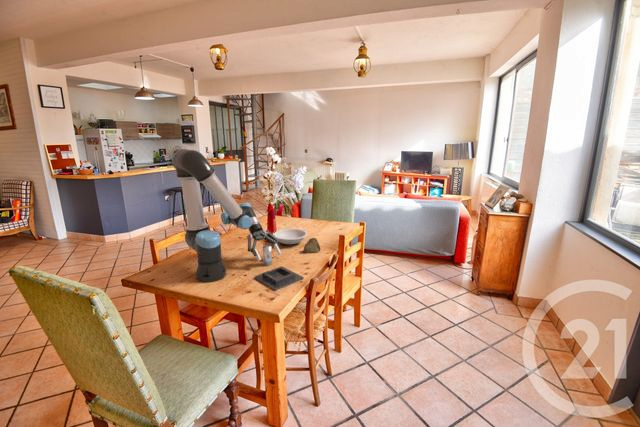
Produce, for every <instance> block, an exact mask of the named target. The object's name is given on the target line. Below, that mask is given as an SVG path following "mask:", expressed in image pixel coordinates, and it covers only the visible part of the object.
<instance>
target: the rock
mask: <svg viewBox="0 0 640 427" xmlns="http://www.w3.org/2000/svg"><path fill="white" fill-rule="evenodd" d="M302 250H303V252H304V253H319V251H320V250H321V246H320V243H319V242H318V240H317V238H316V237H311V238H309V239H308V240H307V242H306V243H305V245H304V247H303V249H302ZM320 252H321V251H320Z"/></svg>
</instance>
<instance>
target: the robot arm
mask: <svg viewBox="0 0 640 427" xmlns="http://www.w3.org/2000/svg"><path fill="white" fill-rule="evenodd" d="M171 163H172V166H173V168H174V169H175V174H176V177H177V178H178V179H179V180H180V184H181V190H182V196H183V201H184V207H185V213H186V214H185V215H186V220H187V225H186V226H185V234H184V240H185V243H186V245H187V246H188V247H189V248H191V249H192V250H194V251H195V252H196V253H197V266H196V270H195V279H196V280H197V281H198V282H202V283H212V282H216V281H219V280H222V279H223V278H225V277H226V276H227V268H226V266H225V264H224V262H223V258H222V257H223V256H222V246H221V245H222V244H221V242H222V240H221V235H220V233H219V232H217V231H215V230H211V229H210V226H209V223H207V222H206V219H205V218H206V217H205V214H204V212H205V211H204V204H203V199H202V193H201V192H202V190H201V186H200V183H202V185H203V186H204V188H206V190H207V191H208V193H210V195H211V196H212V197H213V198H214V200H215V201H216V202H217V203H218V204H219V206H220V208H222V209H223V210H224V211H222V212H221V213H220V219H221V222H222V223H223V225H226V226H227V225H233V226H236V227H238V228H240V229H241V230H248V231H249V233H250V234H249V233H248V235H247V236H246V237H247V252H250V253H252V255H253V257H255V258H256V261H257V263H259V262H260V261H261V260H262V258H261V256H260V254H259V252H258V250H257V249H256V246H257V242H259V241H262V240H263V241H267V242H268V243H270V244H272V245H273V248H274V250H275V252H276V254H277V256H280V255H281V254H282V252H281V249H280V246H279V244H278V243H280V242H279V240H278V239H277V238H276V237H275V236H273V235H272V234H273V233H272V232H270V231H269V229H266V230H265V231H264V228H263V227H262V224H261V222H260V221H259V219H258V217H257V215H256V213H255V211H254V208H253V206H252V205H251V204H250V203H249V202H242V203H240V204H238V203H237V201H236V200H235V199H234V198H233V195H232V194H231V193H230V192H229V191H228V190H227V188H226V187H225V185H224V184H223V183H222V181H221V180H220V179H219V177H218V176H217V175H216V170H215V169H214V167H213V166H212V165H211V163H210V162H209V160H208V159H207V158H206V156H204V155H203V154H202V152H200V151H198V150H194V149H186V148H184V149H179V150H177V151H175V152H174V153H173V155H172V159H171ZM252 238H253V243H252Z"/></svg>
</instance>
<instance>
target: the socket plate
mask: <svg viewBox="0 0 640 427" xmlns="http://www.w3.org/2000/svg"><path fill="white" fill-rule="evenodd" d="M254 279H255V280H256V281H258V282H259V283H262V284H263V285H264V286H267V287H270V288H269V289H271V290H272V291H274V292H275V291H278V290H281V289H283V288H285V287H288V286H291V285H292V284H295V283H297V281H298V282H300V281H302V280H304V279H305V278H304V276H302V275H301V274H298V273H296V272H294V271H292V270H290V269H288V268H287V267H284V266H279V267H275V268H274V269H270V270H266V271H265V272H262V273H261V274H258V275H255V276H254ZM299 280H300V281H299Z"/></svg>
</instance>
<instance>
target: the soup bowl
mask: <svg viewBox="0 0 640 427" xmlns="http://www.w3.org/2000/svg"><path fill="white" fill-rule="evenodd" d="M275 231H276V232H275ZM275 231H274V232H275V233H274V232H272V233H271V234H272V235H273V236H275V237H276V238H277V239H278V240H279V242H278V243H281V244H283V245H296V244H299V243H301V242H302V241H303V240H304V239H305V238H306V237H308V231H306V230H304V229H301V228H281V229H278V230H275Z"/></svg>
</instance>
